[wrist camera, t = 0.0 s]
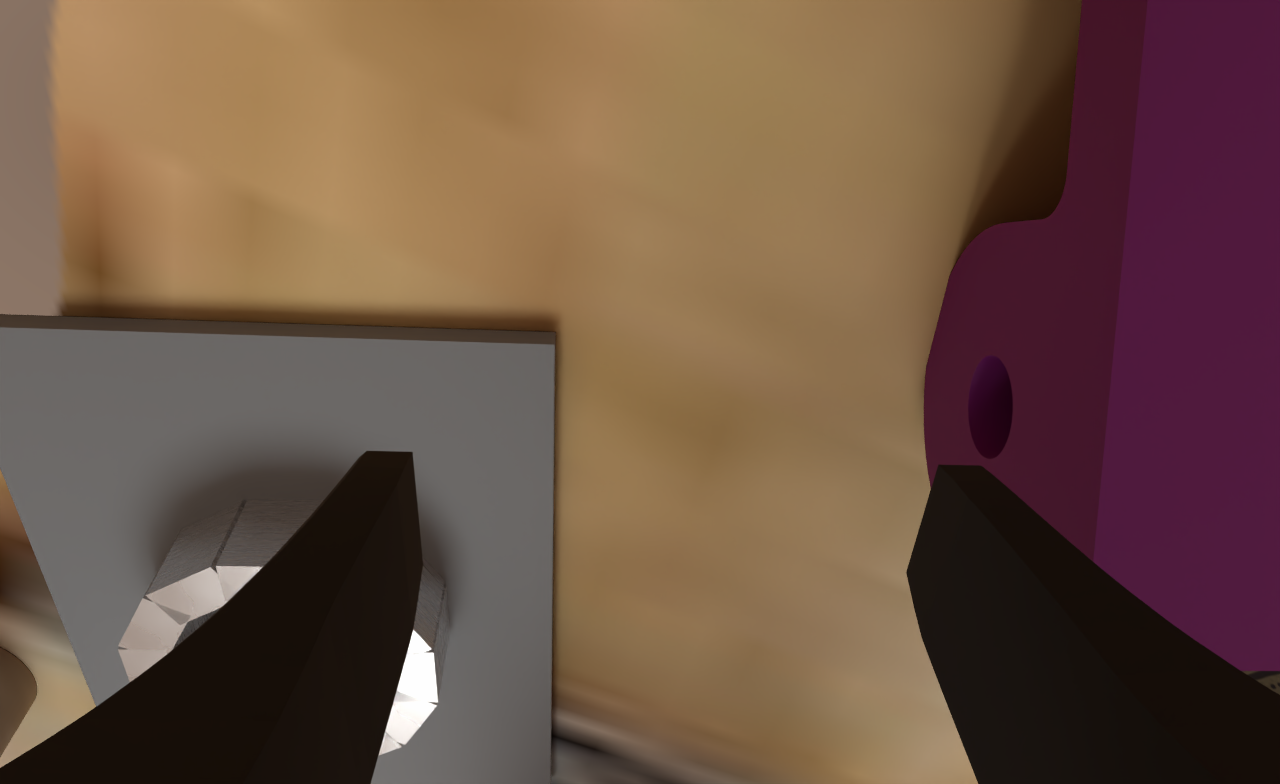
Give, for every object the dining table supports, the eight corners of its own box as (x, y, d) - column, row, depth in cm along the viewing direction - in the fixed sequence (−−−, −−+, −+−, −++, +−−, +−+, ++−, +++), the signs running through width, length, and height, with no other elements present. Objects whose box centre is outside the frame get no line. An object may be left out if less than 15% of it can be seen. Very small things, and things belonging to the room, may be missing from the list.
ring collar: (455, 698, 29) (444, 769, 27) (192, 696, 29) (161, 768, 27) (440, 502, 25) (425, 569, 23) (130, 496, 24) (86, 564, 22)
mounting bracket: (967, -210, 22) (912, 531, 25) (1197, -497, 14) (1079, 670, 16) (1349, -186, 23) (1258, 536, 25) (1793, -446, 14) (1592, 673, 17)
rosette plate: (551, 777, 33) (550, 793, 32) (138, 777, 32) (131, 793, 31) (555, 331, 23) (554, 344, 22) (-43, 313, 22) (-58, 325, 22)
